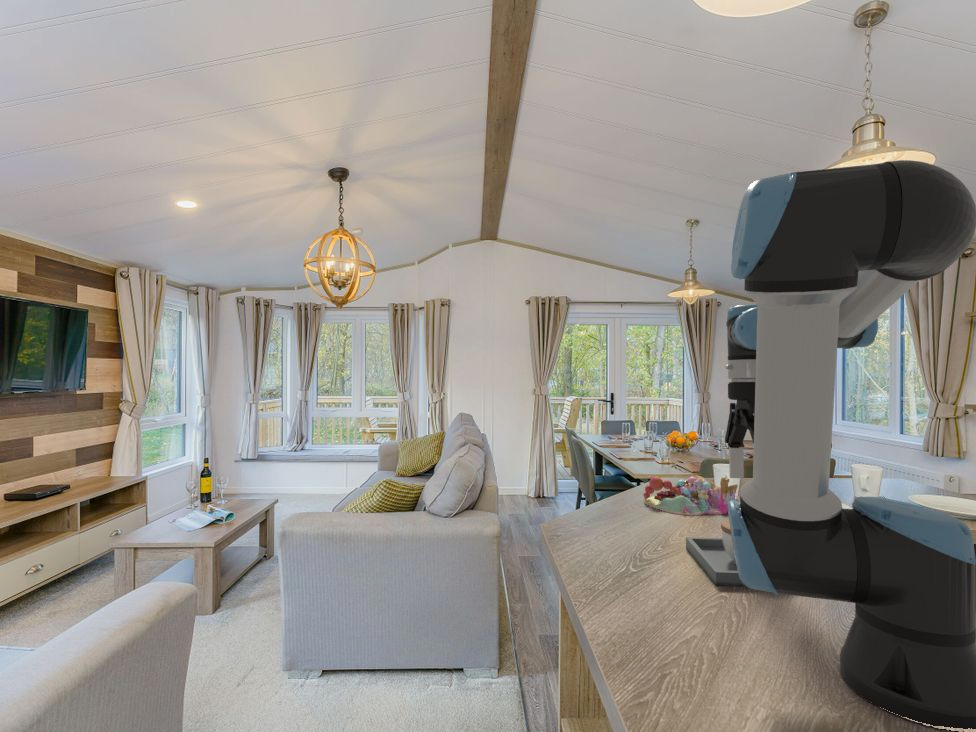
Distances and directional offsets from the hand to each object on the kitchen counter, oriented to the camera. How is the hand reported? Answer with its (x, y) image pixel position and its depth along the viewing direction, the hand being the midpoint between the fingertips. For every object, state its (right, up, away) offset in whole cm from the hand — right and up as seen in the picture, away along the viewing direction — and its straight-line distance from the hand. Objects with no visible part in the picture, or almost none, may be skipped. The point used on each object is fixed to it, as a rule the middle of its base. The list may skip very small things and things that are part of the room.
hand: (749, 484), depth 104 cm
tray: (0, -17, 0) cm, 17 cm away
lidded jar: (0, -17, 0) cm, 17 cm away
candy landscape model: (+7, -18, +47) cm, 51 cm away
